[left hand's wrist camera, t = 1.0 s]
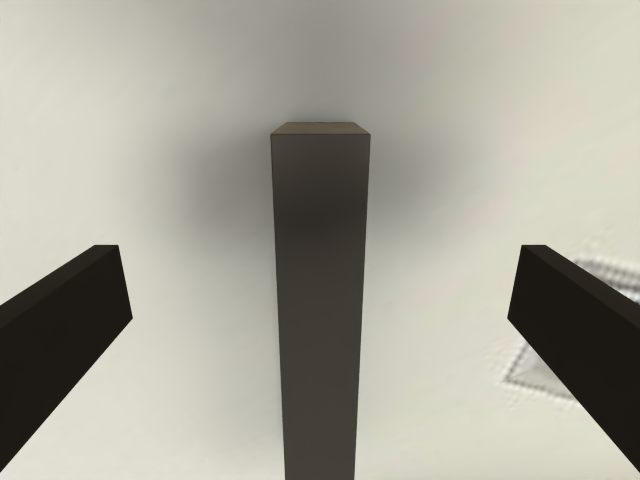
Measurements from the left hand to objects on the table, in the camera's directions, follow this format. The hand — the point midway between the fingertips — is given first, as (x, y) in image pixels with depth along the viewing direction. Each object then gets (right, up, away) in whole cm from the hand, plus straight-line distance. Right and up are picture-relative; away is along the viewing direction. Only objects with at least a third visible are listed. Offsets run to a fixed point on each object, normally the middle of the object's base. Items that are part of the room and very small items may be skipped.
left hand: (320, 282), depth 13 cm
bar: (0, -4, +17) cm, 17 cm away
